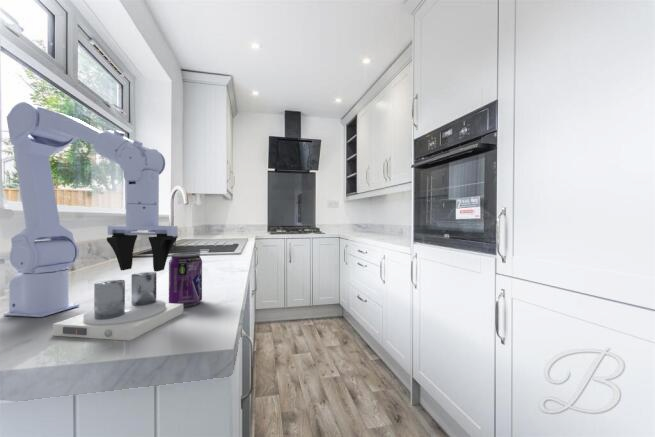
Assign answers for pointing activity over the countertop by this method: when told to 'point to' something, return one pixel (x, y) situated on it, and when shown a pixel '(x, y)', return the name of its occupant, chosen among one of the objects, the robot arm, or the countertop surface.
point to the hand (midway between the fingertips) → (142, 270)
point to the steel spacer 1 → (109, 299)
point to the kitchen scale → (119, 322)
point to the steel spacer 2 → (143, 288)
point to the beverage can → (185, 279)
